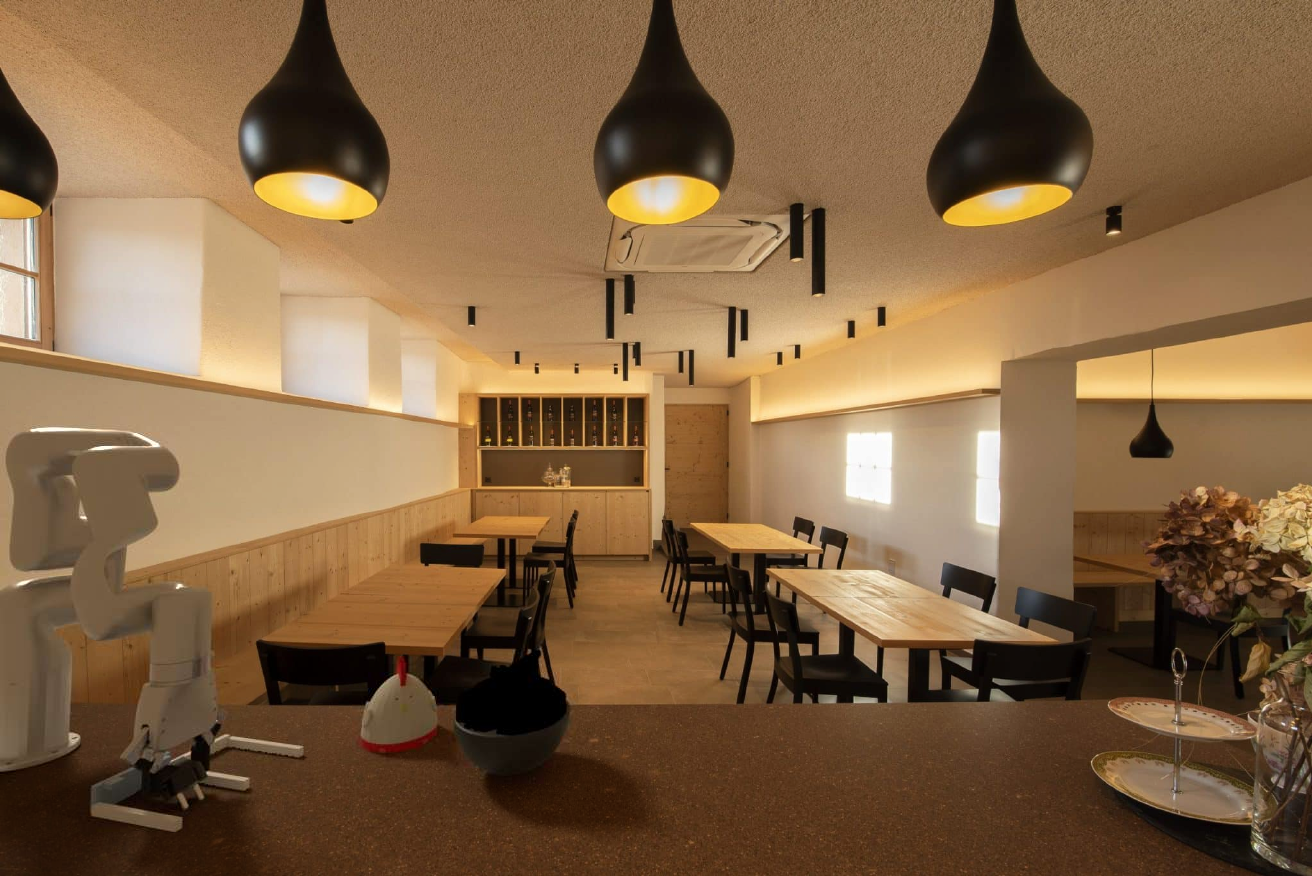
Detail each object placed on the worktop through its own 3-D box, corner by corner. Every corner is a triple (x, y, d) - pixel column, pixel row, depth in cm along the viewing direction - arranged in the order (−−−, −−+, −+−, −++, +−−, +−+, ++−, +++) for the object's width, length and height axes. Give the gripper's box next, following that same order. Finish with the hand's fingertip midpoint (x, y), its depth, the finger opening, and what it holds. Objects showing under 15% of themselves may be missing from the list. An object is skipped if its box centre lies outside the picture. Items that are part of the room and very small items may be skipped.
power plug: (151, 781, 98) (202, 744, 96) (171, 823, 97) (223, 786, 95) (114, 800, 92) (167, 760, 91) (135, 844, 91) (189, 805, 90)
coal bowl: (481, 817, 90) (483, 691, 91) (435, 763, 106) (437, 656, 106) (591, 773, 103) (593, 663, 104) (536, 731, 118) (537, 636, 119)
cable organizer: (86, 814, 90) (87, 788, 90) (227, 743, 112) (228, 722, 112) (175, 832, 86) (175, 804, 86) (303, 754, 108) (303, 732, 108)
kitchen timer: (362, 760, 107) (364, 675, 107) (357, 729, 119) (359, 653, 119) (443, 742, 114) (445, 663, 114) (431, 714, 126) (432, 643, 126)
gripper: (213, 649, 103) (210, 753, 103) (100, 686, 87) (95, 811, 86) (249, 652, 102) (245, 758, 101) (140, 691, 85) (135, 819, 84)
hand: (176, 782), depth 94 cm, fingers open, 6 cm apart
